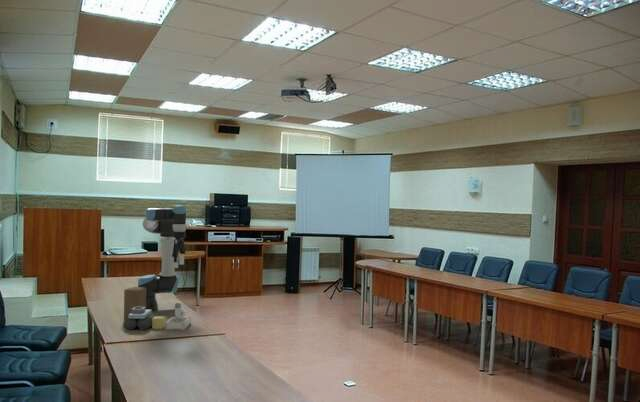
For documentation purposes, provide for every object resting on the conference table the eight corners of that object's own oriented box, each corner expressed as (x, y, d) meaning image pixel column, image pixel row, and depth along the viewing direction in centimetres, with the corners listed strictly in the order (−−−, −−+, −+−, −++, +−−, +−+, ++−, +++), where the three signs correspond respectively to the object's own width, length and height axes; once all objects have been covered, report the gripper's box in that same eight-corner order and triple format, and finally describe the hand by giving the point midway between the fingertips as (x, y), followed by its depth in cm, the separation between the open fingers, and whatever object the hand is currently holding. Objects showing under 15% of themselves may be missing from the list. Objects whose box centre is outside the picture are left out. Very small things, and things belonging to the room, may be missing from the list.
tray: (171, 323, 295) (171, 316, 295) (190, 323, 295) (190, 317, 295) (164, 329, 280) (164, 323, 280) (184, 330, 280) (184, 323, 280)
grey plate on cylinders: (131, 323, 292) (131, 305, 292) (156, 324, 292) (156, 305, 292) (122, 330, 278) (123, 310, 278) (148, 330, 278) (149, 310, 278)
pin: (175, 324, 289) (175, 303, 289) (181, 324, 289) (181, 303, 289) (173, 326, 286) (174, 304, 286) (179, 326, 286) (180, 304, 286)
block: (137, 322, 296) (138, 290, 296) (123, 321, 298) (123, 289, 298) (146, 318, 305) (146, 287, 305) (132, 317, 307) (132, 286, 307)
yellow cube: (154, 326, 288) (154, 316, 287) (164, 326, 288) (164, 316, 288) (152, 328, 283) (152, 318, 282) (162, 328, 283) (162, 318, 283)
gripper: (178, 229, 299) (178, 263, 300) (167, 232, 275) (166, 269, 275) (190, 229, 300) (189, 263, 300) (180, 232, 275) (179, 269, 275)
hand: (178, 266), depth 287 cm, fingers open, 13 cm apart
